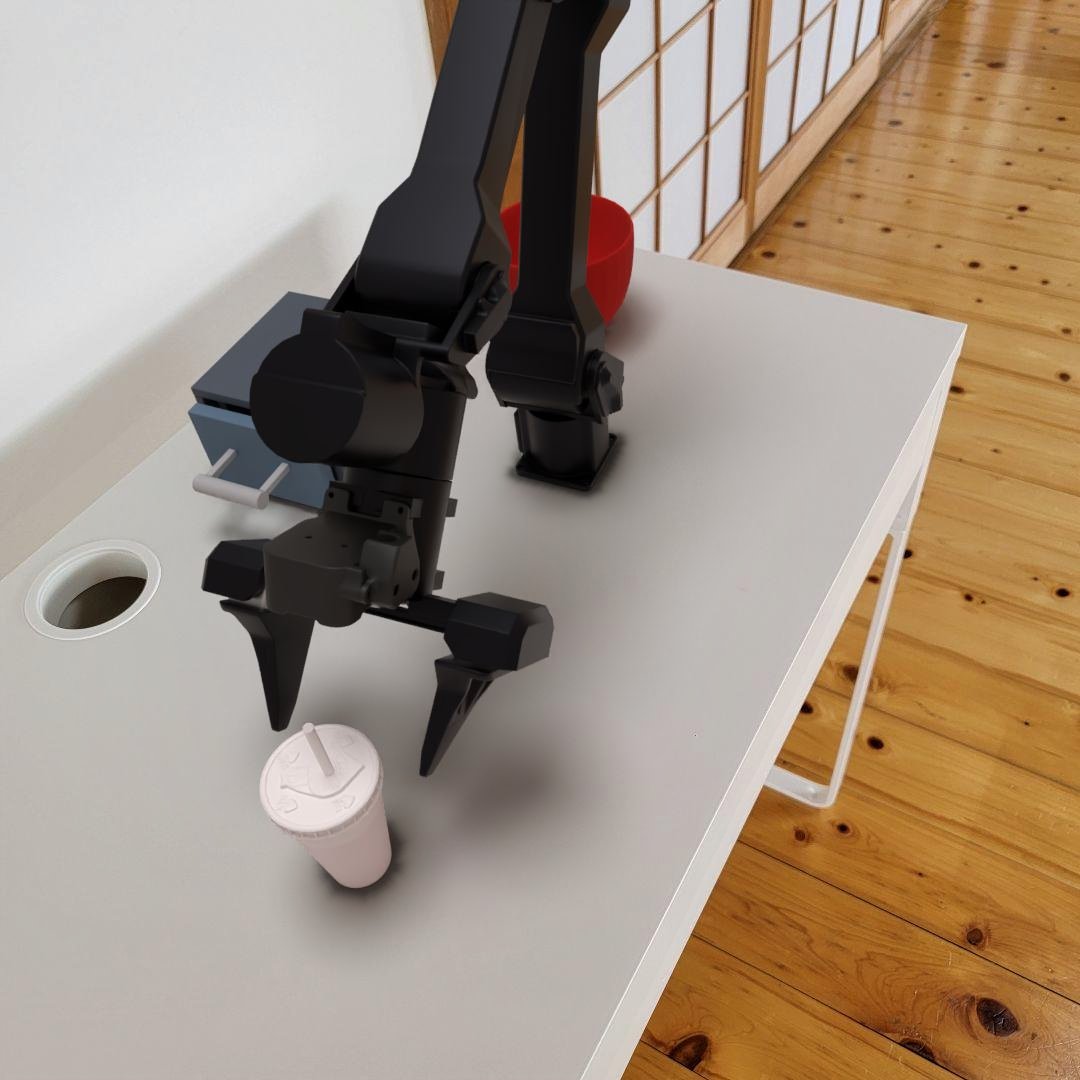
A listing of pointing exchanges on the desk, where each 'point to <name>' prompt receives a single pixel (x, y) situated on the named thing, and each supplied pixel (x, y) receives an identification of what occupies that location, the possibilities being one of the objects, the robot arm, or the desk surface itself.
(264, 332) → the dispenser
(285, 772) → the smoothie
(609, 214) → the ceramic cup
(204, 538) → the desk surface
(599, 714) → the desk surface
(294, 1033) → the desk surface
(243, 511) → the desk surface
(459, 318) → the robot arm
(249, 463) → the drawer
